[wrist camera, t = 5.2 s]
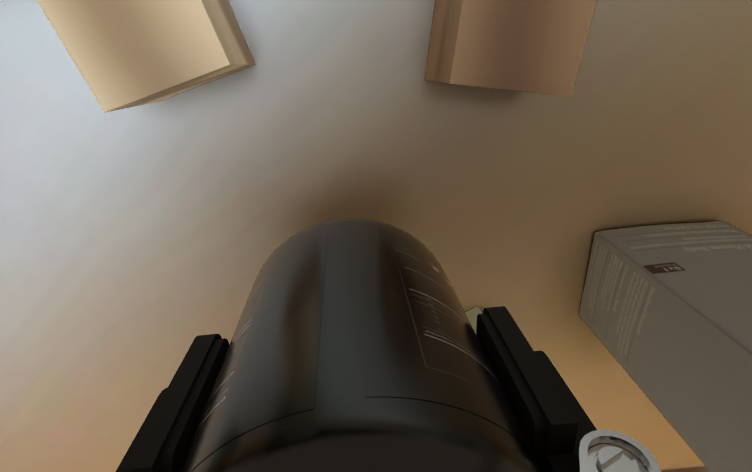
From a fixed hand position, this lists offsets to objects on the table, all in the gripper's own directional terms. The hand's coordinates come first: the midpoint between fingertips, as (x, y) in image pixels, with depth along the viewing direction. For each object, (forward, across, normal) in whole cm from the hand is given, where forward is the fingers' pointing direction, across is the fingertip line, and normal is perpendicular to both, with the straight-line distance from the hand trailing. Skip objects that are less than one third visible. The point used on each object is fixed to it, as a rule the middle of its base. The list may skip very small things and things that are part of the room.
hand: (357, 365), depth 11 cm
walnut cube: (+13, -7, -9) cm, 17 cm away
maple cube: (+12, +7, -10) cm, 17 cm away
